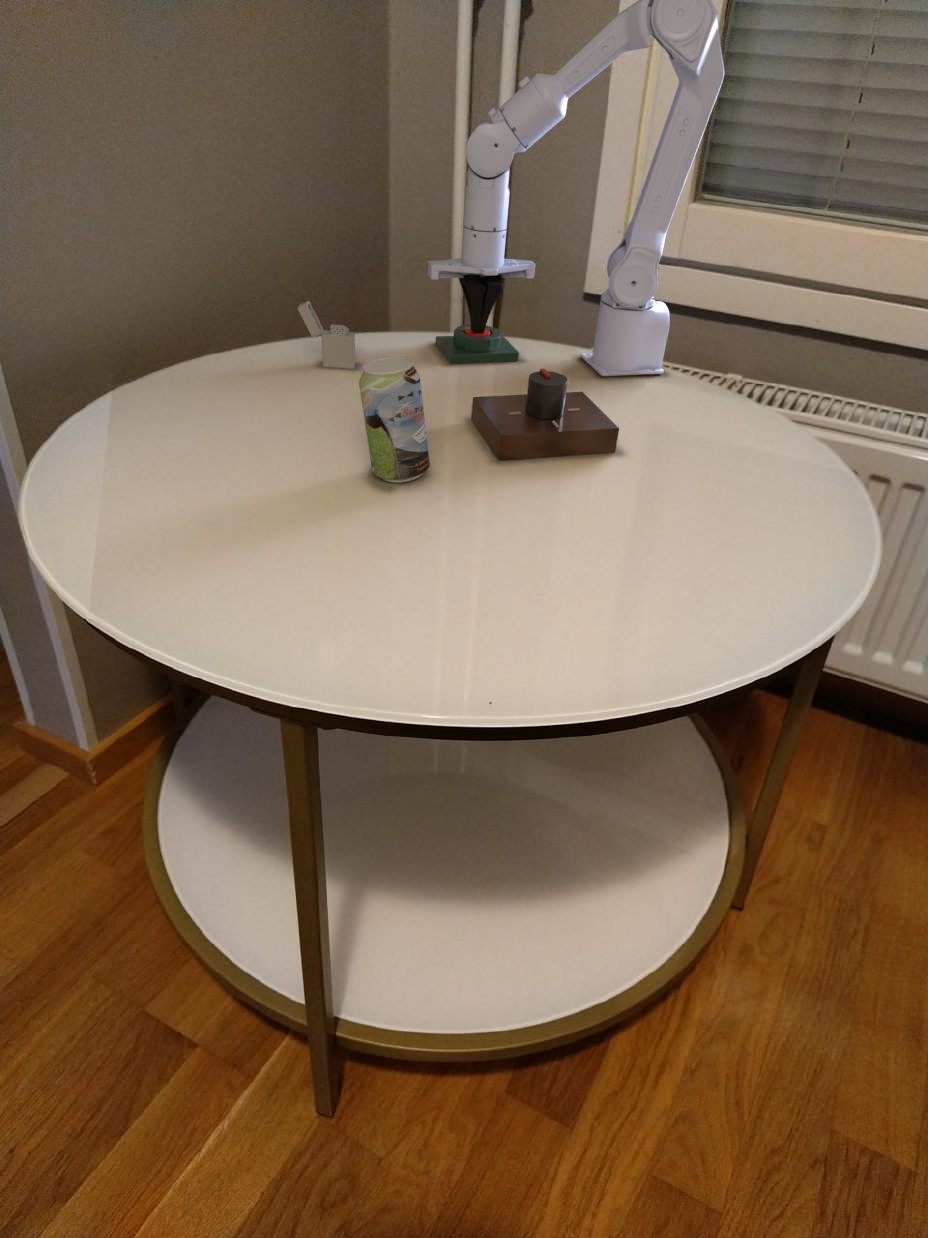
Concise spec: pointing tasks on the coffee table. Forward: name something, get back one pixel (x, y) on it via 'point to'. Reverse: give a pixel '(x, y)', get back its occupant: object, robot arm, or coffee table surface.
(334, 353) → the lighter
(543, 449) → the dial panel
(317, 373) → the coffee table surface
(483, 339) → the button box
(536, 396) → the dial
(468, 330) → the button
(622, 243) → the robot arm
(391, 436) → the beverage can
